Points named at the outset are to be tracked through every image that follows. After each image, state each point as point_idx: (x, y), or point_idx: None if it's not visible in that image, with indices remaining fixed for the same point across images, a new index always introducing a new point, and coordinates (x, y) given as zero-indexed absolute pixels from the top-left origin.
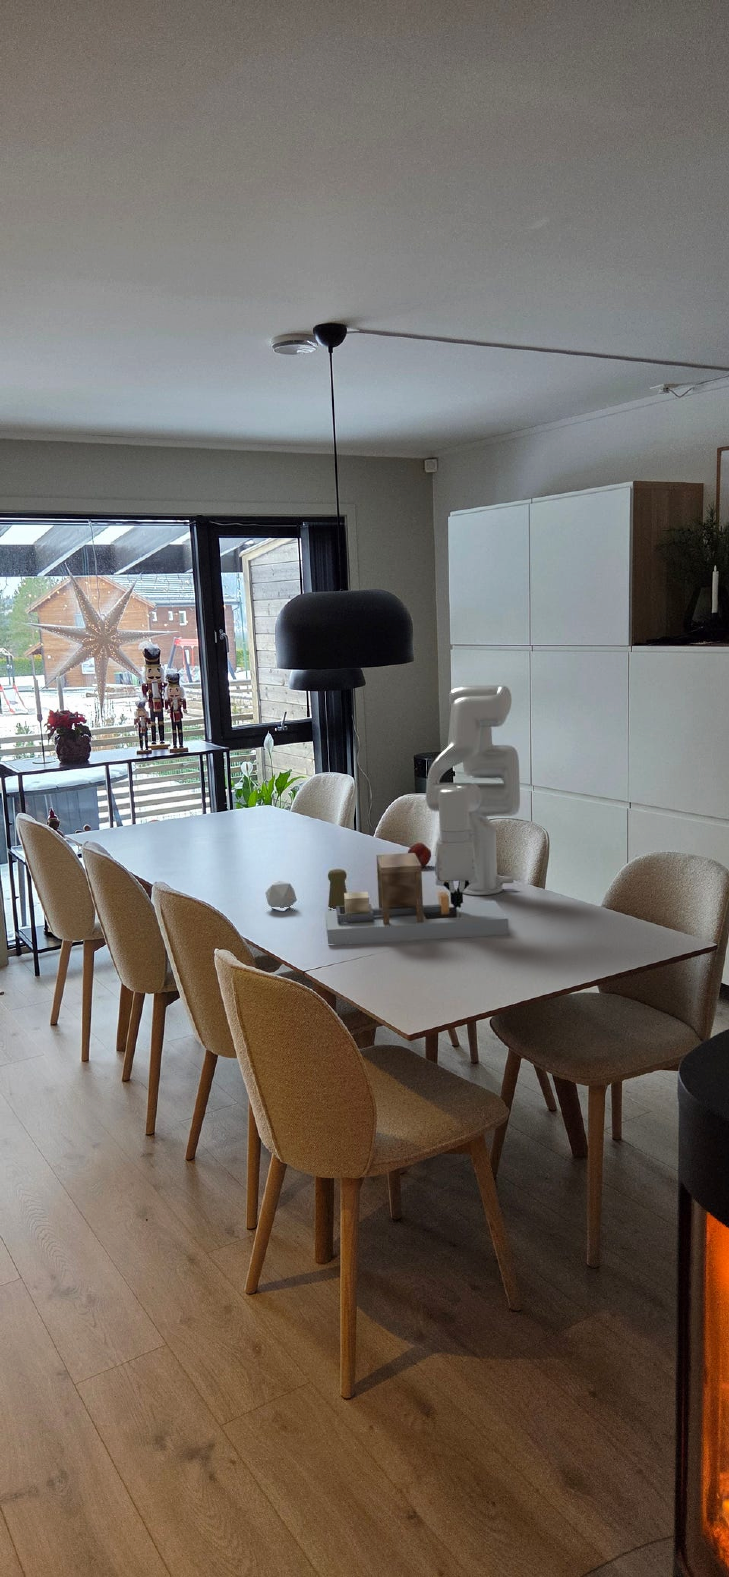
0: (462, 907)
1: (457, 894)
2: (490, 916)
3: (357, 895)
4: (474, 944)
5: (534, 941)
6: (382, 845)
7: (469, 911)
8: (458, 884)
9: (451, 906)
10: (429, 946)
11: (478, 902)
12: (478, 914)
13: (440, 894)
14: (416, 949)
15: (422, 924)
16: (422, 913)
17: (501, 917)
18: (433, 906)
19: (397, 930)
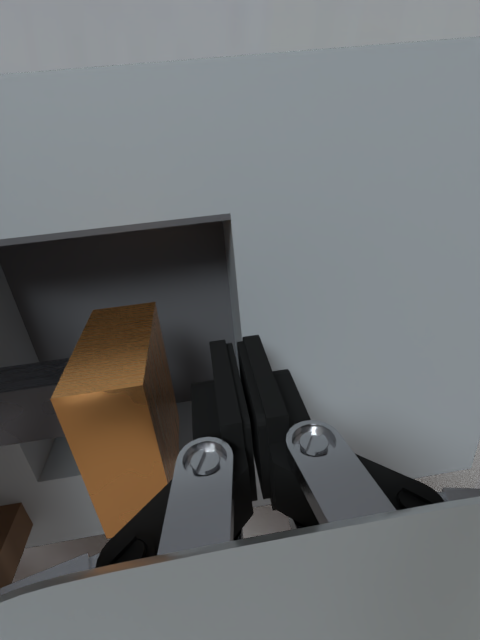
0: (282, 236)
1: (260, 482)
2: (405, 438)
3: None
4: (272, 512)
5: (477, 481)
6: None
7: (315, 344)
8: (305, 496)
9: (194, 195)
10: (102, 536)
11: (446, 79)
12: (354, 403)
13: (89, 467)
14: (55, 562)
15: (35, 544)
16: (8, 578)
17: (450, 451)
18: (51, 430)
19: None
